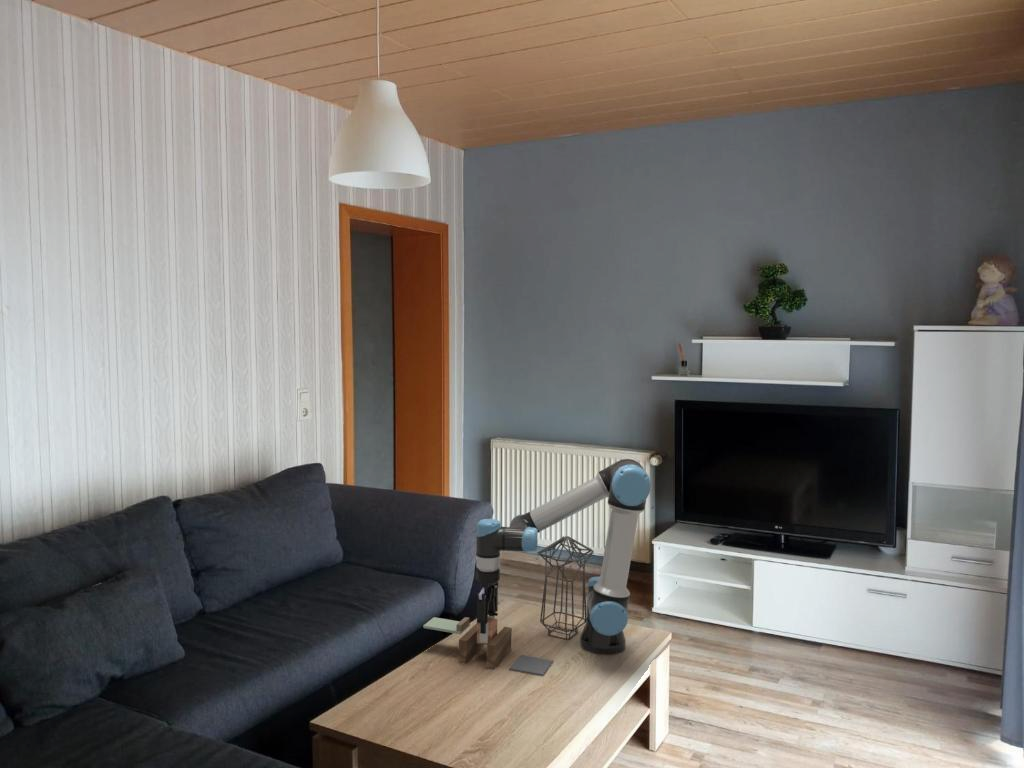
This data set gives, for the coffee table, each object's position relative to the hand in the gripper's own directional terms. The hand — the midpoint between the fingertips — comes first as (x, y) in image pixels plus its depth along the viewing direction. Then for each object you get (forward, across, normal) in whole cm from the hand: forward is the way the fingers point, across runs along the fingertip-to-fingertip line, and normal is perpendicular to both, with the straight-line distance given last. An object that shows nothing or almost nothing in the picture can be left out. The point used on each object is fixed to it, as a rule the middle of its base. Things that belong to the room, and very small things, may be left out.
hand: (487, 638), depth 263 cm
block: (+1, 0, 0) cm, 1 cm away
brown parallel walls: (+6, 0, 0) cm, 6 cm away
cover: (-2, 0, -14) cm, 14 cm away
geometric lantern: (+6, -27, +18) cm, 33 cm away
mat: (+6, +1, +16) cm, 17 cm away
